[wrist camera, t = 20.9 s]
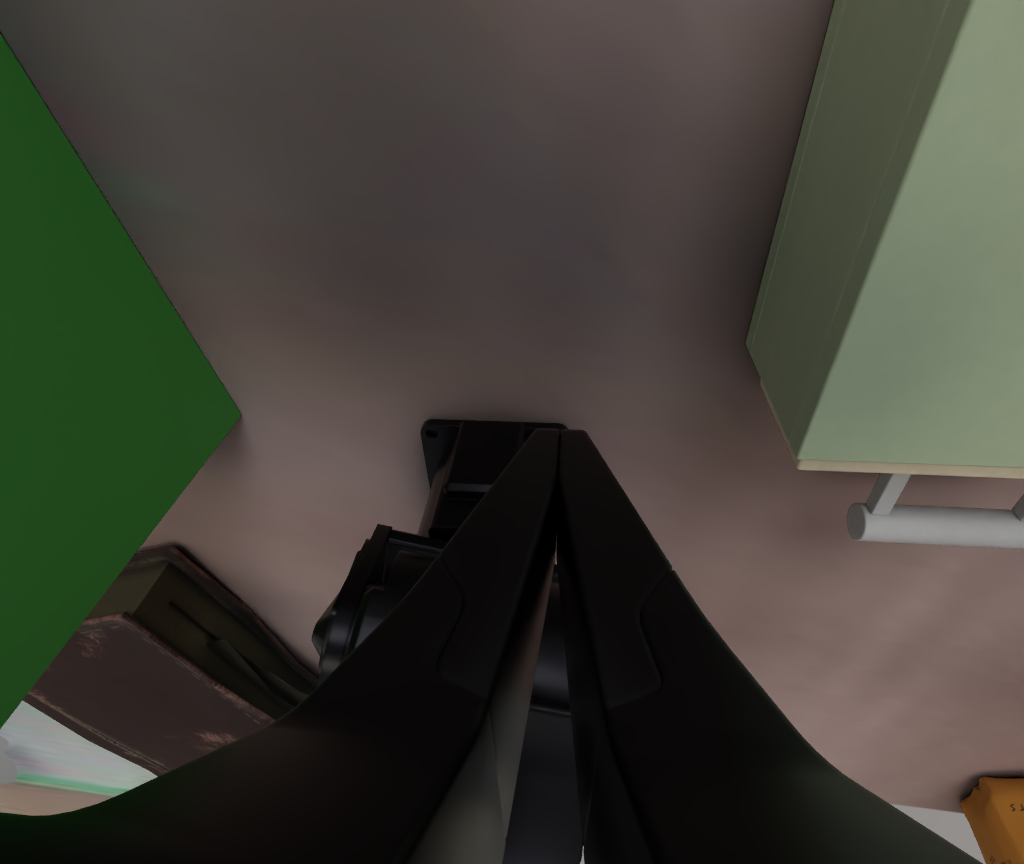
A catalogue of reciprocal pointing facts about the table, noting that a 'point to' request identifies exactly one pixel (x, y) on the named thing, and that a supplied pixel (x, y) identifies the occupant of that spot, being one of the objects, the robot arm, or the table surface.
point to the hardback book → (80, 392)
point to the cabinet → (903, 242)
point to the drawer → (923, 522)
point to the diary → (169, 667)
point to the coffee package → (997, 819)
